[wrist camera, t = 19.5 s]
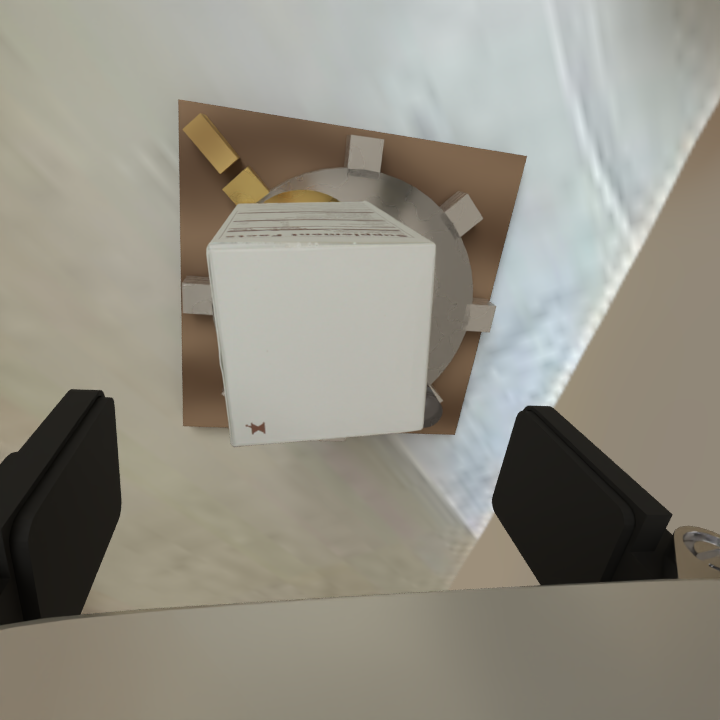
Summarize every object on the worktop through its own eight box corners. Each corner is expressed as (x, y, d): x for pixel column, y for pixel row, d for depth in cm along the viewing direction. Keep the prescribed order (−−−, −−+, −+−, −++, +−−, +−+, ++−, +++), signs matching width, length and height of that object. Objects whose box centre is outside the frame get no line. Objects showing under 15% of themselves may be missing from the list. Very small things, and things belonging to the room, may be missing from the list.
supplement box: (368, 323, 29) (426, 439, 18) (246, 327, 28) (224, 454, 17) (371, 198, 26) (444, 241, 15) (234, 197, 25) (198, 243, 14)
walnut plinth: (448, 424, 38) (463, 449, 35) (186, 414, 34) (177, 442, 31) (515, 155, 30) (543, 157, 27) (183, 101, 26) (170, 96, 23)
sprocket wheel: (536, 315, 33) (586, 349, 27) (325, 472, 36) (333, 531, 30) (372, 54, 25) (398, 30, 19) (116, 285, 28) (76, 320, 22)
